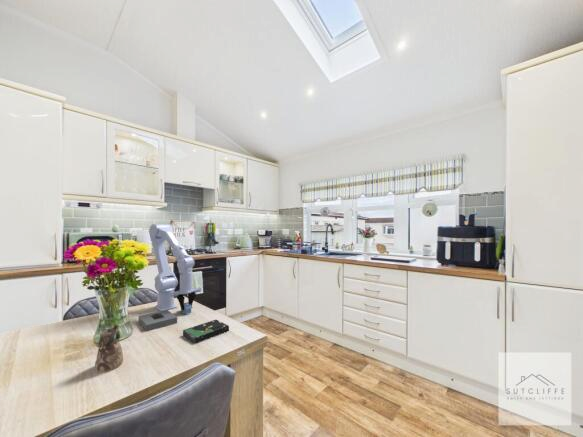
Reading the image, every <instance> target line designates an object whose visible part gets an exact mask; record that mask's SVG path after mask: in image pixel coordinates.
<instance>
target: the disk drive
mask: <svg viewBox="0 0 583 437" xmlns="http://www.w3.org/2000/svg"><path fill="white" fill-rule="evenodd" d="M227 331H228V332H229V331H230V326H229V325H228V324H226V323H224V322H222V321H219V320H217V319H213V320H210V321H207V322H204V323H201V324H198V325H195V326H191V327H188V328H186V329H183V330H182V336H183V337H184V338H186V340H189V341H190V342H191V343H193V344H194V345H195V344H197V343H201V342H204V341H205V340H209V339H211V337H212V338H214V337H217V336H219V334H220V335H222V334H224V332H225V333H228V332H227Z"/></svg>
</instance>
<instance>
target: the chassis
mask: <svg viewBox="0 0 583 437" xmlns="http://www.w3.org/2000/svg"><path fill="white" fill-rule="evenodd" d="M138 322H139V324H140V325H141V326H142V327H143V328H144V330H145V331H146V332H149V331H153V330H156V329H159V328H160V329H161V328H163V327H167V326H171V325H175V324H178V317H177V316H176V315H175V314H174V313H172V312H171V311H170V310H169V309H167V310H162V311H160V310H159V311H158V310H157V311H155V312H151V313H150V312H149V313H145V314H140V315H138Z"/></svg>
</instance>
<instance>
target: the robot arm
mask: <svg viewBox="0 0 583 437" xmlns="http://www.w3.org/2000/svg"><path fill="white" fill-rule="evenodd" d="M148 233H149V239H150V241H151V244H152V249H153V253H154V256H155V263H156V266H157V271H158V274H157V275H156V276H155V278H154V289H155V291H157V295H156V296H157V303H156V304H157V305H155V308H156V309H158V310H159V311H162V310H171V309H175V308H177V307H178V306H177V305H175V298H177V301H178V303H179V305H180V311H181V310H184V303H185V295H187V300H188V303H189V304H191V307H192V308H193V304H194V300H195V298H196V296H197V293H201V292H202V287H193V268H194V267H195V264H196V261H195V259H194V257H193V256H191V255H190V254H189V253H188V252H187V251H186V249H185V248H184V245H180V244H179V243H178V240H177V238H176V237H175V234H174V228H173V226H172V225H171V224H170V223H161V224H160V223H158V224H156V223H153V224H151V225H150V226H149V230H148ZM165 241H166V242H167V244H168V245H169V246H170V247H171V248H172V249H171V253H172V255H173V256H174V258H175V259H176V261H177V262H176V265H177V266H176V267H177V268H178V273H179V281H178V278H177V277H176V274H175V272H173V271H171V270H170V266H169V261H168V256H167V252H166V248H165V243H164V242H165ZM178 284H179V290H176V287H177V286H178ZM175 290H176V291H175Z"/></svg>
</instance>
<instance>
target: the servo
mask: <svg viewBox="0 0 583 437" xmlns="http://www.w3.org/2000/svg"><path fill="white" fill-rule="evenodd" d="M192 309H193V306H192V307H191V304H189V303H188V302H187V301H186V302H184V310H181V309H180V311H181V313H183V314H184V315H187V314H191V313H192Z"/></svg>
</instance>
